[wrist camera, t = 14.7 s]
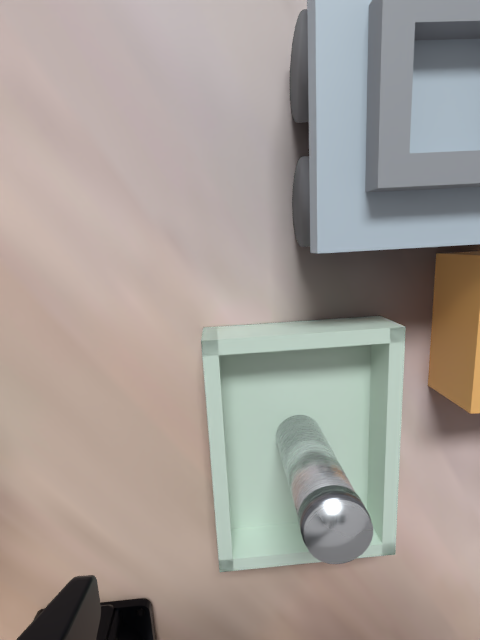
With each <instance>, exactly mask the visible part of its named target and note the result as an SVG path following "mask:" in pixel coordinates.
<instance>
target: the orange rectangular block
mask: <svg viewBox="0 0 480 640" xmlns="http://www.w3.org/2000/svg"><path fill="white" fill-rule="evenodd" d="M428 386H429V387H431V388H432V389H434V390H435V391H437V392H438V393H440V394H441V395H443V396H444V397H446V398H447V399H449V400H450V401H452V402H453V403H455V404H456V405H458V406H459V407H461V408H462V409H464V410H465V411H467V412H468V413H470V414H474V413H480V251H472V252H455V253H437V254H436V266H435V282H434V297H433V313H432V329H431V345H430V361H429V377H428Z"/></svg>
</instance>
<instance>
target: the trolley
mask: <svg viewBox="0 0 480 640" xmlns="http://www.w3.org/2000/svg"><path fill="white" fill-rule="evenodd" d="M290 101H291V110H292V115H293V118H294V120H295V122H309V156H305V157H301V158H300V159H299V161H298V163H297V166H296V170H295V175H294V183H293V197H292V209H293V223H294V230H295V235H296V239H297V242H298V244H299V245H300V246H301V247H308V246H310V253H317V254H318V253H336V252H353V251H370V250H388V249H405V248H423V247H440V246H457V245H475V244H480V0H307V9H306V10H302V11H301V12H300V14H299V16H298V19H297V22H296V26H295V31H294V37H293V43H292V52H291V63H290Z"/></svg>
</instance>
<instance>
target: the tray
mask: <svg viewBox="0 0 480 640" xmlns="http://www.w3.org/2000/svg"><path fill="white" fill-rule="evenodd" d="M405 328H406V327H405V326H402V325H400V324H398V323H396V322H393V321H391V320H389V319H387V318H384V317H382V316H368V317H353V318H338V319H323V320H309V321H294V322H279V323H264V324H249V325H234V326H219V327H204V328H203V333H202V339H201V344H202V356H203V369H204V381H205V394H206V407H207V419H208V432H209V444H210V457H211V469H212V482H213V494H214V507H215V520H216V532H217V545H218V557H219V570H220V572H227V571H237V570H247V569H256V568H266V567H276V566H286V565H296V564H306V563H315V562H322V561H320V560H318V559H316V558H315V557H314V556H313V555H312V554H311V553H310V552H309V550H308V548H307V547H306V545H305V543H304V541H303V538H302V534H301V531H300V527H299V523H298V515H297V512H296V508H295V505H294V501H293V498H292V495H291V491H290V488H289V484H288V481H287V477H286V474H285V470H284V467H283V464H282V460H281V457H280V453H279V450H278V446H277V443H276V431H277V429H278V427H279V425H280V424H281V423H282V422H283V421H284V420H285V419H287V418H289V417H291V416H294V415H305V416H309V417H311V418H312V419H314V420H315V421H316V422H317V423H318V425H319V427H320V428H321V430H322V432H323V434H324V436H325V438H326V439H327V441H328V443H329V445H330V447H331V449H332V450H333V452H334V454H335V456H336V458H337V460H338V461H339V463H340V465H341V467H342V469H343V470H344V472H345V474H346V476H347V478H348V480H349V481H350V483H351V485H352V487H353V489H354V491H355V492H356V494H357V495H358V496H359V497H360V499H361V501H362V502H363V504H364V506H365V508H366V510H367V511H368V513H369V515H370V518H371V522H372V525H373V538H372V541H371V543H370V545H369V547H368V548H367V549H366V551H365V552H364V553H363V554H362V555H360V556H359V557H357V558H365V557H374V556H384V555H394V554H395V548H396V526H397V504H398V482H399V460H400V438H401V416H402V394H403V372H404V350H405Z"/></svg>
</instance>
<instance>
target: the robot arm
mask: <svg viewBox="0 0 480 640" xmlns="http://www.w3.org/2000/svg"><path fill="white" fill-rule="evenodd" d="M17 640H156V638H155V630H154V623H153V615H152V608H151V603H150V602H149V601H148V600H147V599H133V600H124V601H114V602H104V603H100V598H99V591H98V585H97V580H96V577H95V576H93V575H88V576H77V577H74V578H73V579H72V580H71V581H70V582H69V583H68V584H67V585H66V586H65V587H64V588H63V589H62V590H61V591H60V592H59V594H58V595H57V596H56V597H55V598H54V599H53V600H52V601H51V602H50V603H49V605H48V606H47V607H46V608H45V609H41V610H39V611H38V612H37V614H36V616H35V618H34V620H33V622H32V623H31V624H30V625H29V626H28V627H27V629H26V630H25V631H24V632H23V633H22V634H21V635H20V636H19V637H18V638H17Z"/></svg>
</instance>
